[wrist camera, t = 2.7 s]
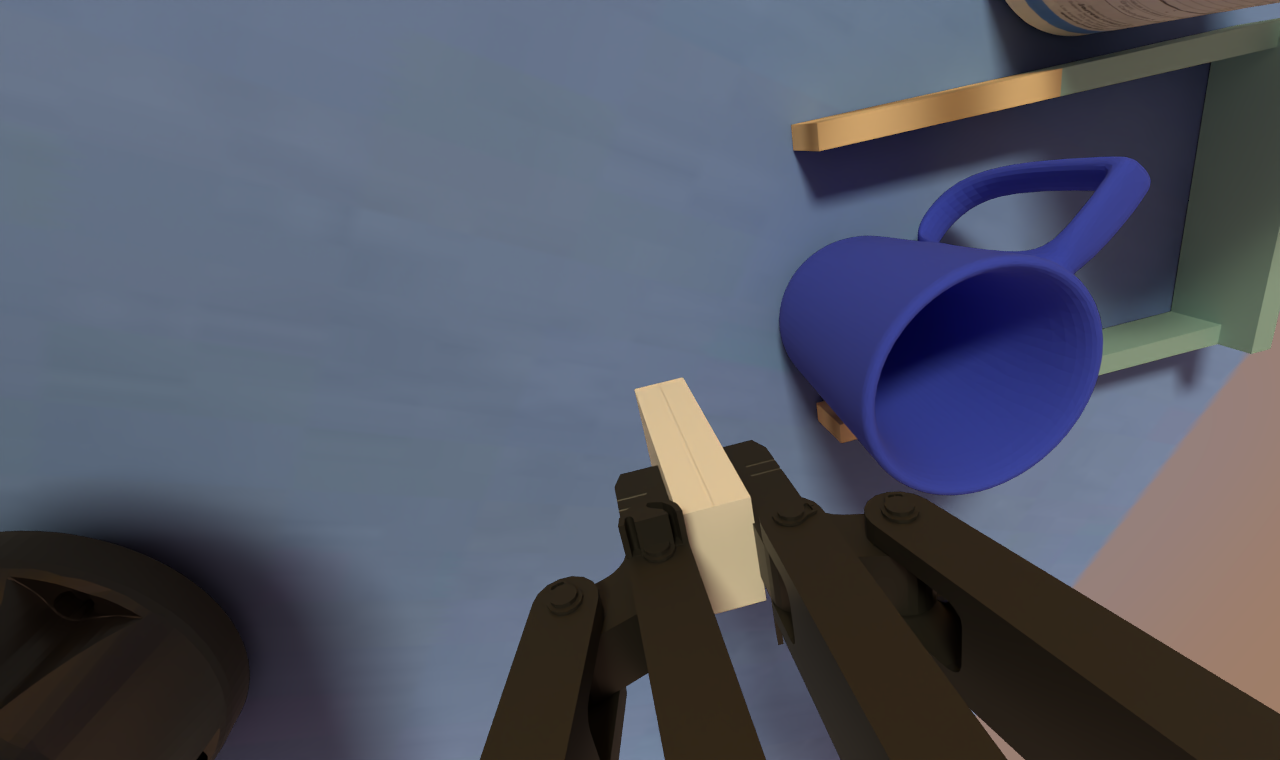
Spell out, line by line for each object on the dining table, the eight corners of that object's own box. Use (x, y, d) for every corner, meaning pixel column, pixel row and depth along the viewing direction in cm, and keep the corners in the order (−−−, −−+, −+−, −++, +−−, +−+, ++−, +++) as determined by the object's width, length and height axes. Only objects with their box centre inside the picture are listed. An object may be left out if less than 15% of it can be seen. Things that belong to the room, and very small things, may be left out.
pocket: (1001, 372, 31) (1063, 403, 27) (1015, 74, 25) (1095, 63, 22) (1185, 324, 32) (1270, 348, 28) (1237, 25, 26) (1351, 6, 22)
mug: (1012, 212, 28) (1247, 247, 18) (844, 415, 30) (978, 534, 21) (894, 98, 25) (1102, 72, 16) (721, 332, 28) (813, 427, 18)
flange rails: (818, 420, 30) (841, 443, 28) (791, 125, 25) (817, 123, 22) (1001, 372, 31) (1038, 391, 29) (1015, 74, 25) (1062, 68, 23)
